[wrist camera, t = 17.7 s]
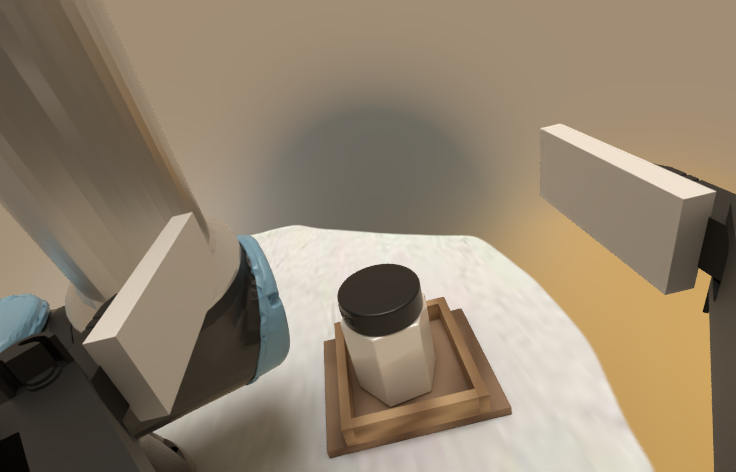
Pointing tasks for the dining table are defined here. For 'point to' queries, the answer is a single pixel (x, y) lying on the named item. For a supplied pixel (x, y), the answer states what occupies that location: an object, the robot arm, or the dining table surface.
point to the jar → (388, 332)
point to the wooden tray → (423, 413)
